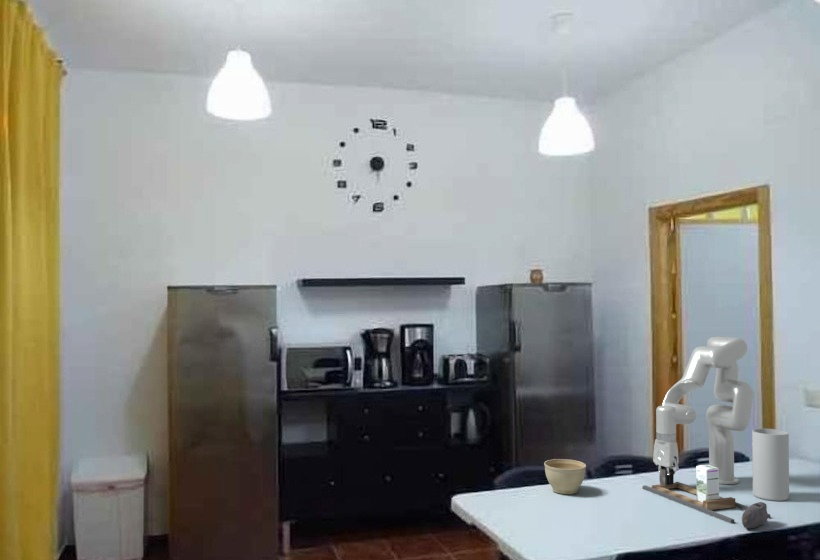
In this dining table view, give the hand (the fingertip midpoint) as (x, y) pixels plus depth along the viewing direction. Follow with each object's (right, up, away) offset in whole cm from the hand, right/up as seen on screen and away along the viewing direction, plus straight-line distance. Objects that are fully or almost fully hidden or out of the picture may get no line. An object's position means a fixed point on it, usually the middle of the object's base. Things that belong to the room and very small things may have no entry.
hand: (666, 482), depth 285 cm
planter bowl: (-41, -3, -3) cm, 42 cm away
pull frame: (+5, -2, -13) cm, 14 cm away
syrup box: (+7, -2, -23) cm, 24 cm away
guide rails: (+7, -2, -18) cm, 20 cm away
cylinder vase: (+36, -2, -11) cm, 38 cm away
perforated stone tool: (+13, -2, -46) cm, 47 cm away
